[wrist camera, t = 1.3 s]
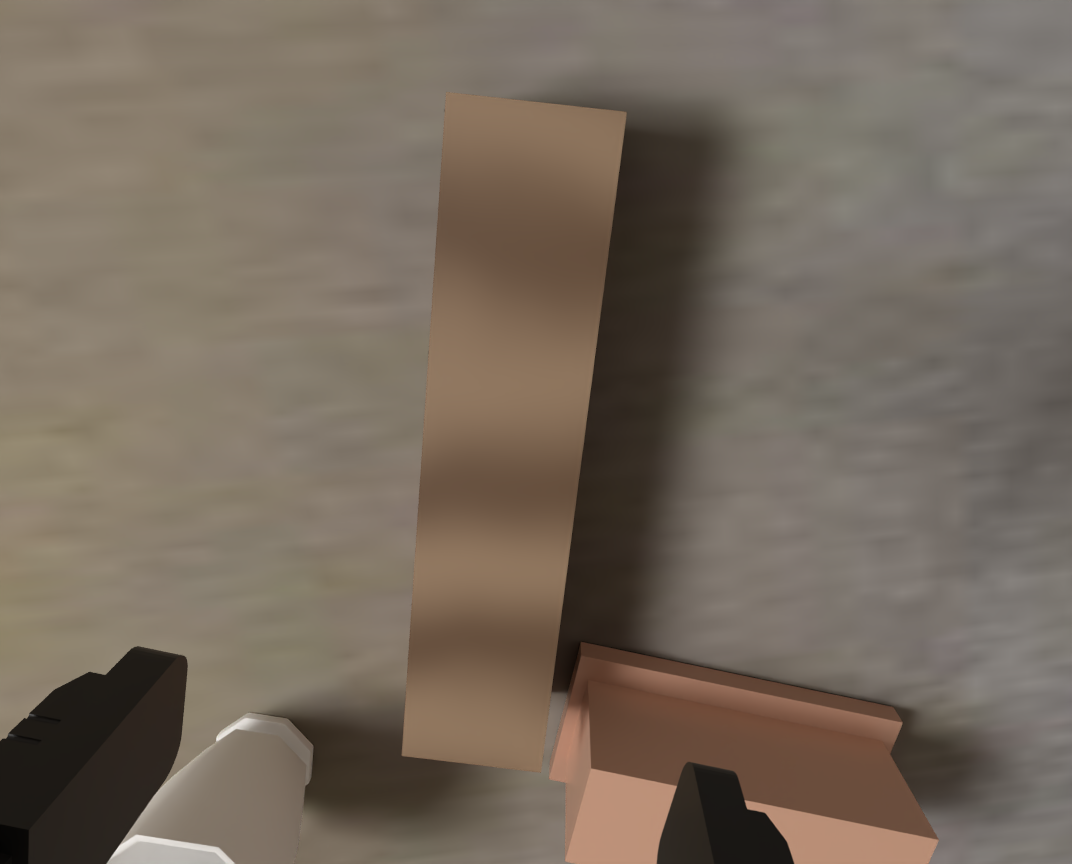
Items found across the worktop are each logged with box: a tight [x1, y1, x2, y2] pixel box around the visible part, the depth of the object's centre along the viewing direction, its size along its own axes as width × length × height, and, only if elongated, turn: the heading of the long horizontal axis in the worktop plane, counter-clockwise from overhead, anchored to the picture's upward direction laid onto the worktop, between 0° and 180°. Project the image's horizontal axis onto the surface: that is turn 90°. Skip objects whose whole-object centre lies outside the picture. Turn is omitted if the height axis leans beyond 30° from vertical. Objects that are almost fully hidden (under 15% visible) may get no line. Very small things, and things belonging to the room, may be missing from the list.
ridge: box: [549, 642, 939, 864], centre depth 30 cm, size 6×13×6 cm, turn 78°
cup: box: [107, 712, 314, 864], centre depth 30 cm, size 7×10×8 cm
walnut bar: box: [402, 92, 627, 773], centre depth 27 cm, size 22×5×5 cm, turn 174°
